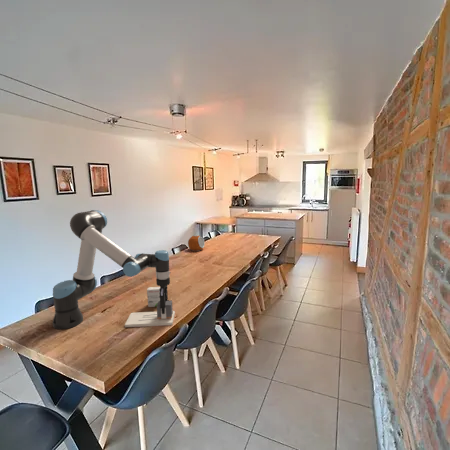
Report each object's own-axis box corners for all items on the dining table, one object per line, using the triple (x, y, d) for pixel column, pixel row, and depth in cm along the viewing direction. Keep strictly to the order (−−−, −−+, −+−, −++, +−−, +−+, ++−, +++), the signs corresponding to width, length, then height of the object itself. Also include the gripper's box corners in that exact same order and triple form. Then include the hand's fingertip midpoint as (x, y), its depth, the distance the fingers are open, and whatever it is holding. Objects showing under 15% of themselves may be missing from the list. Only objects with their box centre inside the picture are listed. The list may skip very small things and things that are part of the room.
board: (124, 327, 153) (124, 324, 153) (131, 314, 167) (131, 312, 167) (172, 325, 155) (172, 322, 155) (174, 313, 169) (174, 310, 168)
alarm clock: (199, 252, 309) (199, 237, 306) (185, 251, 315) (185, 236, 312) (206, 248, 326) (206, 234, 324) (193, 247, 333) (193, 233, 330)
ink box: (162, 303, 182) (161, 286, 180) (161, 306, 177) (160, 289, 176) (149, 303, 182) (148, 286, 180) (147, 307, 177) (146, 289, 175)
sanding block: (157, 318, 158) (156, 305, 157) (159, 313, 164) (158, 301, 162) (171, 318, 158) (170, 304, 157) (172, 313, 164) (172, 300, 163)
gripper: (167, 283, 148) (169, 323, 152) (171, 271, 167) (173, 307, 171) (153, 284, 148) (155, 324, 151) (159, 272, 166) (160, 308, 170)
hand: (164, 315), depth 161 cm, fingers closed on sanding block, 6 cm apart
